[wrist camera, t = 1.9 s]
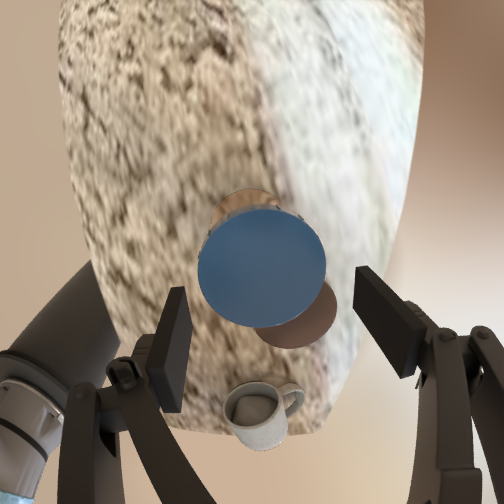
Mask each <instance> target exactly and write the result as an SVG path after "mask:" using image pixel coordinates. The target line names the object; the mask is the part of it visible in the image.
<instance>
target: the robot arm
mask: <svg viewBox="0 0 504 504" xmlns="http://www.w3.org/2000/svg"><path fill="white" fill-rule="evenodd" d="M353 309H354V310H355V312H356V313H357V315H358V316H359V318H360V319H361V320H362V322H363V323H364V325H365V326H366V328H367V329H368V331H369V332H370V334H371V335H372V337H373V338H374V339H375V341H376V343H377V344H378V345H379V347H380V348H381V350H382V352H383V353H384V355H385V356H386V358H387V359H388V361H389V362H390V364H391V365H392V367H393V368H394V370H395V371H396V373H397V374H398V376H399V378H400V379H402V378H405V377H409V376H412V375H414V373H415V370H416V367H417V366H418V367H419V368H420V370H421V373H420V376H419V378H418V381H417V384H416V387H415V389H417V388H418V386H419V407H418V408H419V409H418V426H417V440H416V449H415V459H414V466H413V474H412V480H411V486H410V493H409V497H408V501H407V504H481V502H482V472H481V470H480V469H479V468H475V467H474V452H473V432H472V420H471V416H472V418H473V421H474V424H475V427H476V430H477V433H478V435H479V439H480V441H481V445H482V448H483V451H484V454H485V458H486V461H487V465H488V468H489V472H490V476H491V480H492V483H493V487H494V492H495V495H496V499H497V503H498V504H504V347H503V346H502V344H501V343H500V341H499V340H498V339H497V337H496V336H495V334H494V333H493V332H492V330H491V329H489V328H487V327H484V326H475V327H473V328H472V330H471V333H470V335H467V336H458V335H457V333H456V332H455V331H453V330H451V329H449V328H439V327H438V326H437V325H436V324H435V323H434V322H433V321H432V320H431V319H430V318H429V317H428V316H427V315H426V313H424V312H423V311H422V309H420V307H418V305H416V304H414V303H413V302H411V301H403V300H402V299H400V298H399V296H398V295H397V294H396V293H395V292H394V291H393V290H392V289H391V288H390V287H389V286H388V285H387V284H386V283H385V282H384V281H383V280H382V279H381V278H380V277H379V276H378V275H377V274H376V273H375V272H374V271H372V270H371V269H370V268H369V267H368V266H360V267H356V270H355V285H354V298H353ZM192 330H193V325H192V321H191V316H190V311H189V307H188V302H187V297H186V292H185V287H184V286H181V287H171V289H170V292H169V295H168V298H167V300H166V303H165V306H164V309H163V312H162V315H161V318H160V321H159V324H158V327H157V330H156V333H155V334H143V335H142V336H141V337H140V338H139V339H138V340H137V342H136V345H135V349H134V350H133V353H132V355H131V357H125V356H124V357H119V358H116V359H114V360H112V361H111V362H110V363H109V364H108V365H107V367H106V374H107V376H108V378H109V380H110V382H111V384H112V386H110V387H106V388H101V389H96V388H95V386H94V385H93V384H92V383H89V382H81V383H78V384H76V385H74V386H73V387H72V388H71V389H70V390H69V393H68V396H67V402H66V408H65V411H64V409H63V408H62V407H61V406H60V405H59V403H58V402H57V401H56V400H55V399H53V398H52V397H51V396H50V395H49V394H48V393H46V392H45V391H44V390H42V389H41V388H40V387H38V386H37V385H35V384H33V383H31V382H30V381H28V380H25V379H23V378H20V377H17V376H7V377H5V378H4V379H3V381H2V382H1V384H0V504H33V502H34V500H35V499H34V497H35V494H36V491H37V488H38V485H39V482H40V479H41V476H42V473H43V470H44V467H45V465H46V462H47V459H48V457H49V455H50V454H51V453H52V452H53V451H54V450H55V449H56V448H57V447H58V446H59V445H60V444H61V446H60V457H59V470H58V491H57V504H125V498H124V489H123V480H122V470H121V457H120V441H119V432H121V431H126V430H128V431H129V433H130V435H131V438H132V441H133V443H134V445H135V448H136V450H137V452H138V455H139V457H140V459H141V462H142V464H143V466H144V468H145V470H146V472H147V474H148V476H149V478H150V480H151V483H152V485H153V487H154V489H155V491H156V493H157V495H158V496H159V498H160V500H161V502H162V504H217V503H216V502H215V501H214V499H213V498H212V496H211V495H210V494H209V492H208V491H207V489H206V488H205V486H204V485H203V483H202V482H201V480H200V479H199V477H198V476H197V474H196V473H195V471H194V470H193V468H192V467H191V465H190V463H189V462H188V460H187V459H186V457H185V455H184V454H183V452H182V451H181V449H180V447H179V445H178V443H177V442H176V440H175V439H174V437H173V435H172V433H171V431H170V429H169V428H168V426H167V424H166V422H165V420H164V418H163V416H162V415H161V413H160V411H159V409H160V406H161V408H162V410H163V413H181V407H182V399H183V392H184V384H185V377H186V370H187V363H188V356H189V349H190V343H191V336H192ZM482 368H483V371H484V373H482V371H481V369H482Z"/></svg>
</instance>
